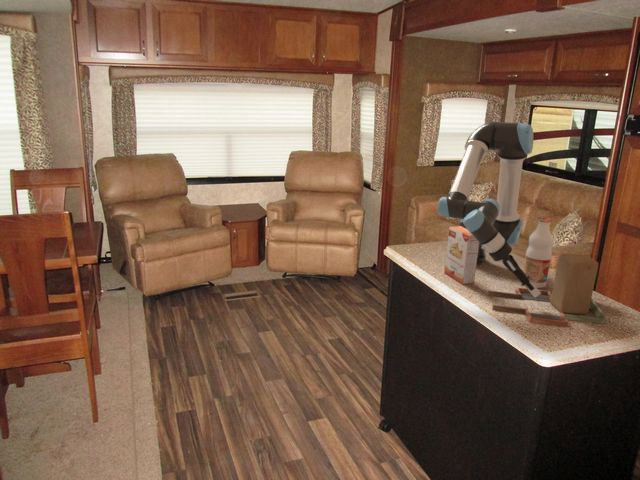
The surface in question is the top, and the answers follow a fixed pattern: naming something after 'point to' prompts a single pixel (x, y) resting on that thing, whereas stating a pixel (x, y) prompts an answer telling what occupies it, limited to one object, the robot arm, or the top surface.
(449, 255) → the cracker box
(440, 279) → the top surface
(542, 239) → the fruit juice
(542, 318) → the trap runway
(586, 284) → the wooden block
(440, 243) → the top surface
